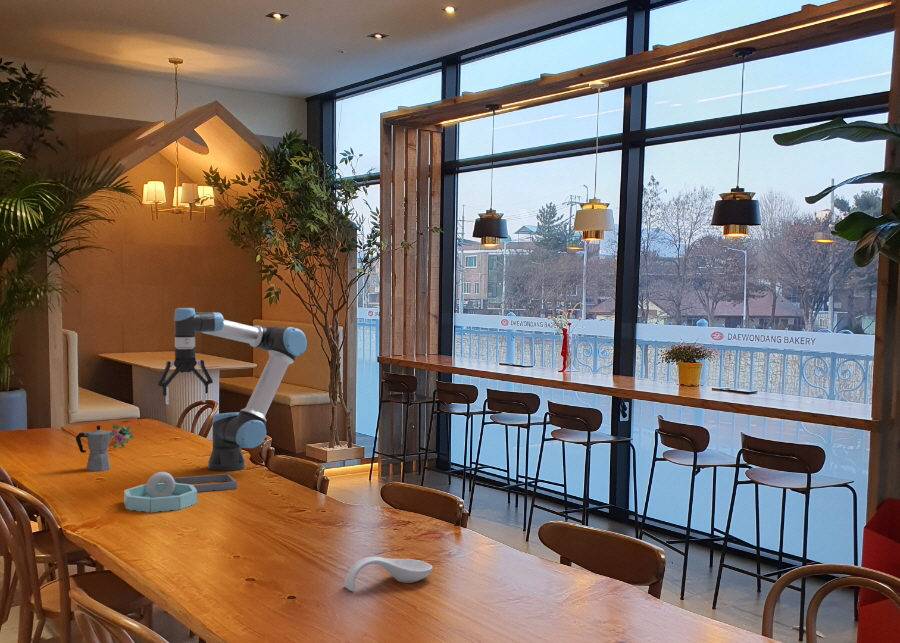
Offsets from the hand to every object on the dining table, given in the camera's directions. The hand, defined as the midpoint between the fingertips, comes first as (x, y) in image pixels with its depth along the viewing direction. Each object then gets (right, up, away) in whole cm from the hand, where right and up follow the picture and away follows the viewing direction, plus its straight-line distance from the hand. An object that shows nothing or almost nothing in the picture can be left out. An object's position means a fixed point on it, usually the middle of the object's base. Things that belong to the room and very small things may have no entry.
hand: (185, 403), depth 320 cm
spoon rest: (+86, -36, -106) cm, 141 cm away
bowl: (+1, -32, -32) cm, 45 cm away
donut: (+1, -31, -32) cm, 44 cm away
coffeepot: (-44, -30, +21) cm, 57 cm away
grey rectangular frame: (+9, -31, -6) cm, 33 cm away
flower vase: (-54, -28, +75) cm, 97 cm away
